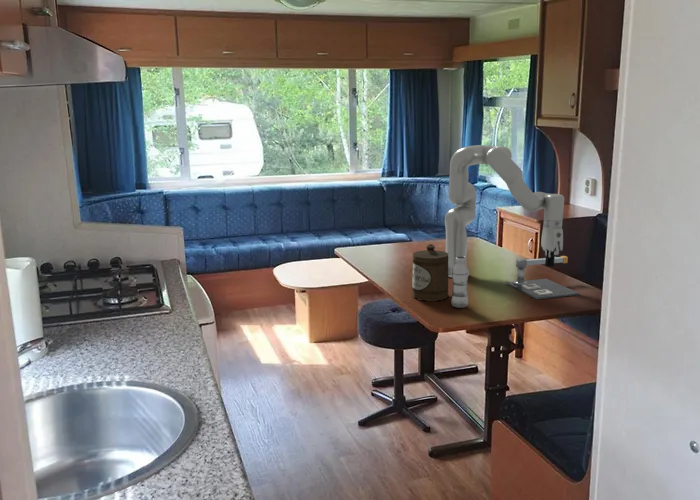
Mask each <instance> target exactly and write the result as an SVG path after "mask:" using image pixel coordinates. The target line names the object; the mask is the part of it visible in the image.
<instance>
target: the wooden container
mask: <svg viewBox="0 0 700 500" xmlns="http://www.w3.org/2000/svg"><path fill="white" fill-rule="evenodd" d="M435 249H436V246H435V245H434V244H433V243H429V244H427V245H426V250H425V249H424V250H417V251H415V252H413V253H412V278H411V280H412V281H411V284H412V285H411V286H412V289H411V290H412V295H413V296H412V298H414V299H415V298H417V299H416V300H418V299H420V300H419V301H422V300H426V301H425V302H439V301H438V300H441V301H443V299H445V300H447V299H448V298H449V277H448V253H446V251H442V250H435ZM447 297H448V298H447ZM446 298H447V299H446Z"/></svg>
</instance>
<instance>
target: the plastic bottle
mask: <svg viewBox="0 0 700 500" xmlns="http://www.w3.org/2000/svg"><path fill="white" fill-rule="evenodd" d="M465 259H466V261H465ZM455 262H456V264H455V265H454V266H453V268H452V291H451V292H452V294H451V299H450V302H451V305H452V307H455V308H458V309H462V308H467V306H468V304H469V297H468V278H469V276H468V273H469V274H470V271H469V267H468V266H467V264H466V265H465V262H466V263H467V257H466V258H465V257H462V256H458V257H456V260H455Z"/></svg>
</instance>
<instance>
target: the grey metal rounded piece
mask: <svg viewBox="0 0 700 500" xmlns="http://www.w3.org/2000/svg"><path fill="white" fill-rule="evenodd" d="M516 268H517V270H516V271H517V272H516V279H515V280H513V281H512V282H513V283H514V284H516V285H527V281H528V280H525V269H526V268H518V267H516Z"/></svg>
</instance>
